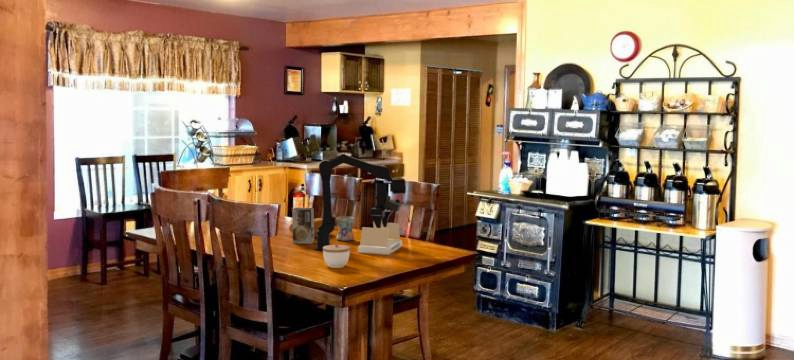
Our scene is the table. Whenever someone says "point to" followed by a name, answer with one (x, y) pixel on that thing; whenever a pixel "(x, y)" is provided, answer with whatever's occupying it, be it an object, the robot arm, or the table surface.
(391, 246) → the carton
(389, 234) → the far flap
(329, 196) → the robot arm
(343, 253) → the lidded jar
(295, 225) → the coffee box
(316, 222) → the bread
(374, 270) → the table surface
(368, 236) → the near flap
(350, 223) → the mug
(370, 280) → the table surface
